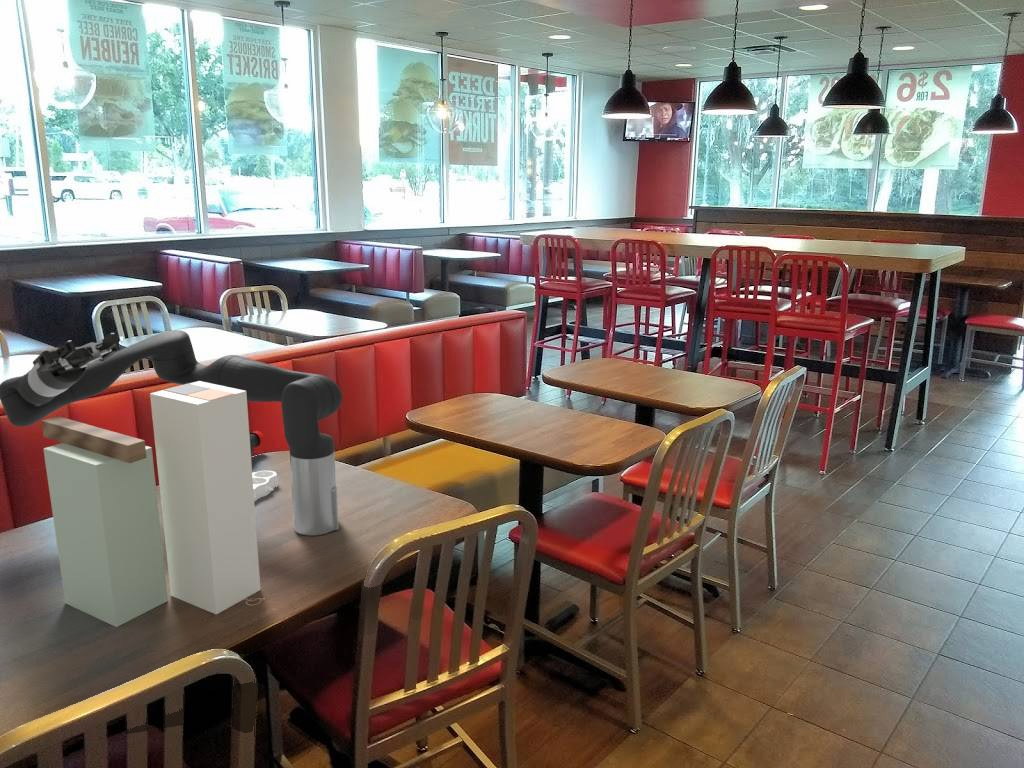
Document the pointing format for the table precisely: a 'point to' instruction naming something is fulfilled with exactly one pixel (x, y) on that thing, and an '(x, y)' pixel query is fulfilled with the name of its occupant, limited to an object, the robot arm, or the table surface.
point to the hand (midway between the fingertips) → (94, 341)
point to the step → (106, 532)
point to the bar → (94, 439)
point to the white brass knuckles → (263, 483)
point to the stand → (206, 493)
